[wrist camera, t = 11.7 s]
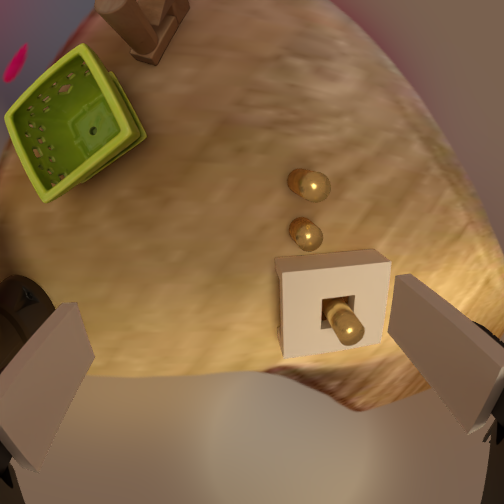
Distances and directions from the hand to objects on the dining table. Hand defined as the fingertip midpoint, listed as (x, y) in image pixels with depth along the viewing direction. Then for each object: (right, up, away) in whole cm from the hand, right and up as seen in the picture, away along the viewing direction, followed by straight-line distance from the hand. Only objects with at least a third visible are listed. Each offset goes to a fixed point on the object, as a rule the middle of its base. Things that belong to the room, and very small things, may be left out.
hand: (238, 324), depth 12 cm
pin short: (+8, +6, +33) cm, 35 cm away
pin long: (+12, -4, +37) cm, 39 cm away
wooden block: (-12, +34, +23) cm, 43 cm away
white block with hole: (+12, -4, +37) cm, 39 cm away
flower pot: (-21, +20, +26) cm, 40 cm away
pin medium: (+7, +13, +31) cm, 34 cm away
